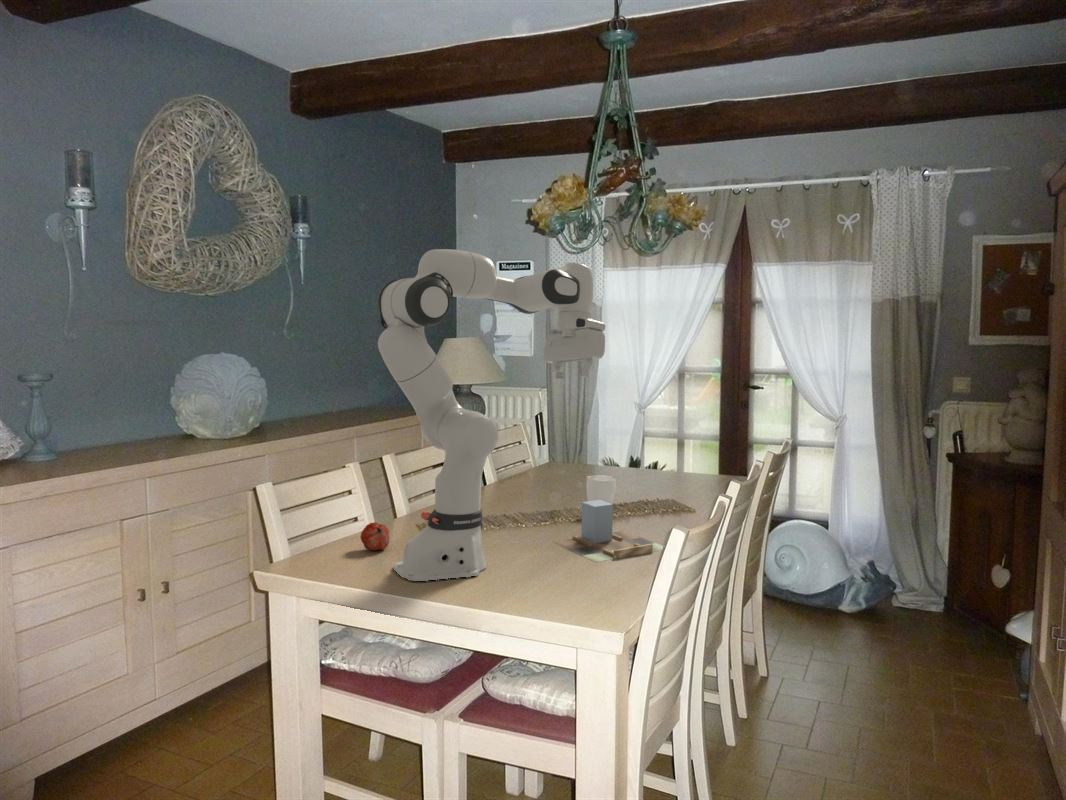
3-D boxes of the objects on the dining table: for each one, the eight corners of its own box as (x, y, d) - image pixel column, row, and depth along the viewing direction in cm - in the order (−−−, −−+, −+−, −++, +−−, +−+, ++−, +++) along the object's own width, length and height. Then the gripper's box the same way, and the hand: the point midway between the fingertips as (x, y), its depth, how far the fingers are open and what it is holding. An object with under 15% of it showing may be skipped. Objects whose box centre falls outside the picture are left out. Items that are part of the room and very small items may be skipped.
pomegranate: (357, 557, 206) (363, 542, 198) (357, 530, 210) (363, 515, 202) (385, 557, 209) (392, 543, 201) (385, 531, 212) (392, 516, 205)
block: (593, 543, 210) (594, 506, 209) (581, 537, 215) (582, 502, 214) (611, 540, 213) (612, 504, 212) (599, 535, 218) (599, 499, 217)
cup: (591, 520, 238) (592, 481, 237) (581, 513, 247) (582, 475, 246) (619, 518, 241) (620, 480, 239) (608, 511, 249) (609, 474, 248)
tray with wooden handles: (595, 566, 194) (595, 554, 194) (552, 545, 211) (552, 534, 211) (670, 552, 206) (670, 541, 206) (623, 533, 224) (624, 523, 223)
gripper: (539, 327, 212) (536, 378, 211) (592, 319, 196) (589, 374, 195) (557, 331, 216) (554, 381, 215) (610, 323, 200) (607, 377, 199)
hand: (571, 378), depth 205 cm, fingers open, 8 cm apart
